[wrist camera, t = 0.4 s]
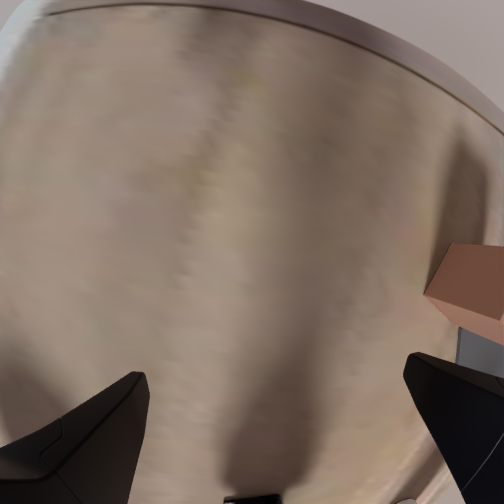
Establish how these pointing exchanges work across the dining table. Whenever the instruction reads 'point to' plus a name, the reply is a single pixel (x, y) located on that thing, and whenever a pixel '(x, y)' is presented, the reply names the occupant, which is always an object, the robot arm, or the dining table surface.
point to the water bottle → (407, 501)
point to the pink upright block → (471, 289)
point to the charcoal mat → (479, 353)
